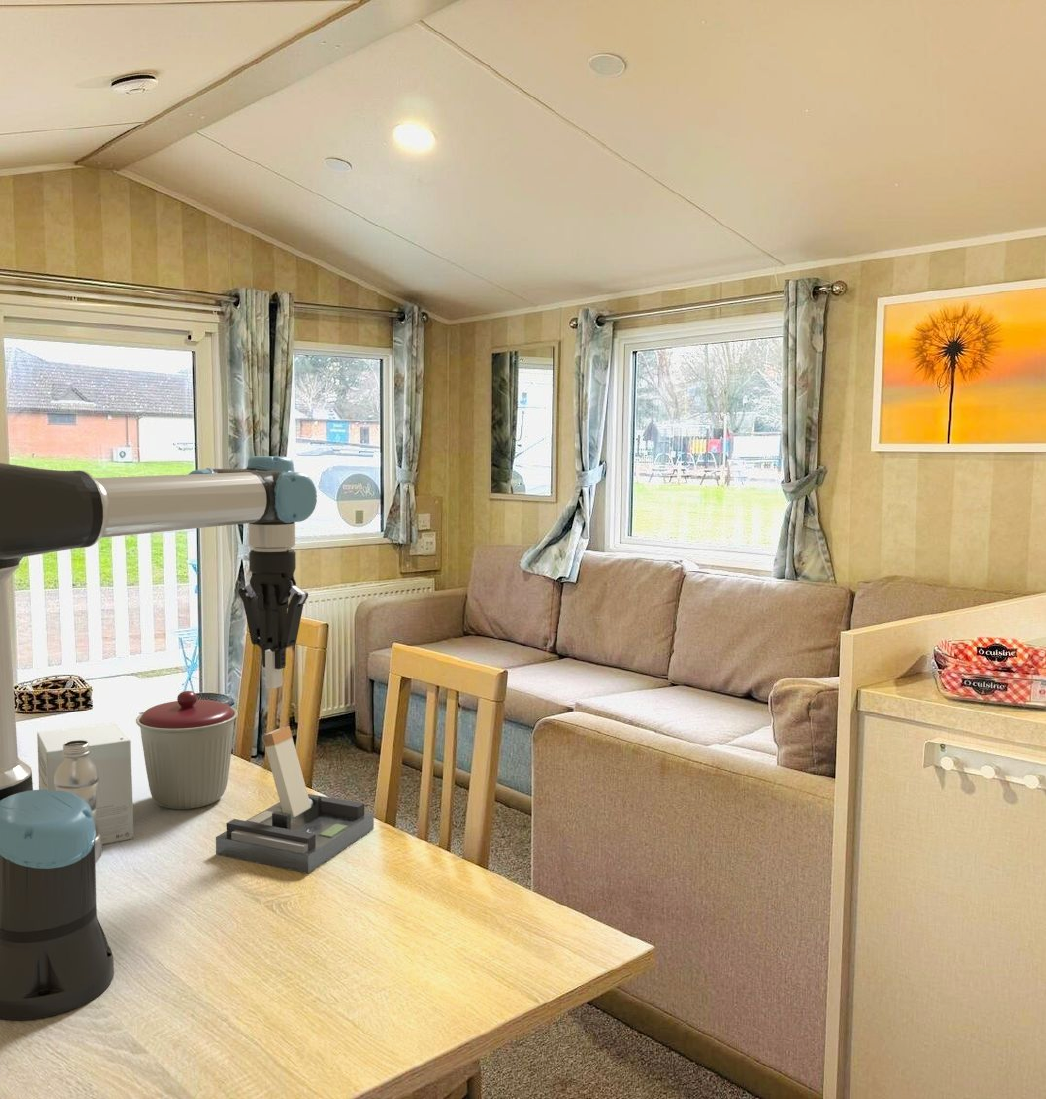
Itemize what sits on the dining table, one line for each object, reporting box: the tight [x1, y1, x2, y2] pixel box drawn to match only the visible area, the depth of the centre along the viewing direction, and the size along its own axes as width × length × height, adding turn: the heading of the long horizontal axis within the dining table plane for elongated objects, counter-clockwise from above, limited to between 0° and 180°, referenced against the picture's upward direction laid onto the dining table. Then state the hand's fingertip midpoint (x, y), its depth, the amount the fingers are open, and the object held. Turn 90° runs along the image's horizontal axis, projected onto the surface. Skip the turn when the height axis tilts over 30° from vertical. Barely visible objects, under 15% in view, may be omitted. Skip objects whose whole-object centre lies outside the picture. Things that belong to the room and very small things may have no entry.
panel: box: [215, 793, 375, 875], centre depth 167 cm, size 20×18×6 cm
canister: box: [135, 690, 239, 810], centre depth 184 cm, size 18×18×21 cm
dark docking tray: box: [226, 793, 365, 854], centre depth 166 cm, size 18×16×2 cm
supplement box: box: [36, 721, 134, 845], centre depth 168 cm, size 13×13×18 cm
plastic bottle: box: [54, 740, 103, 864], centre depth 155 cm, size 6×7×20 cm
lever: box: [261, 725, 313, 819], centre depth 167 cm, size 7×2×15 cm, turn 158°
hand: (274, 686), depth 166 cm, fingers closed
